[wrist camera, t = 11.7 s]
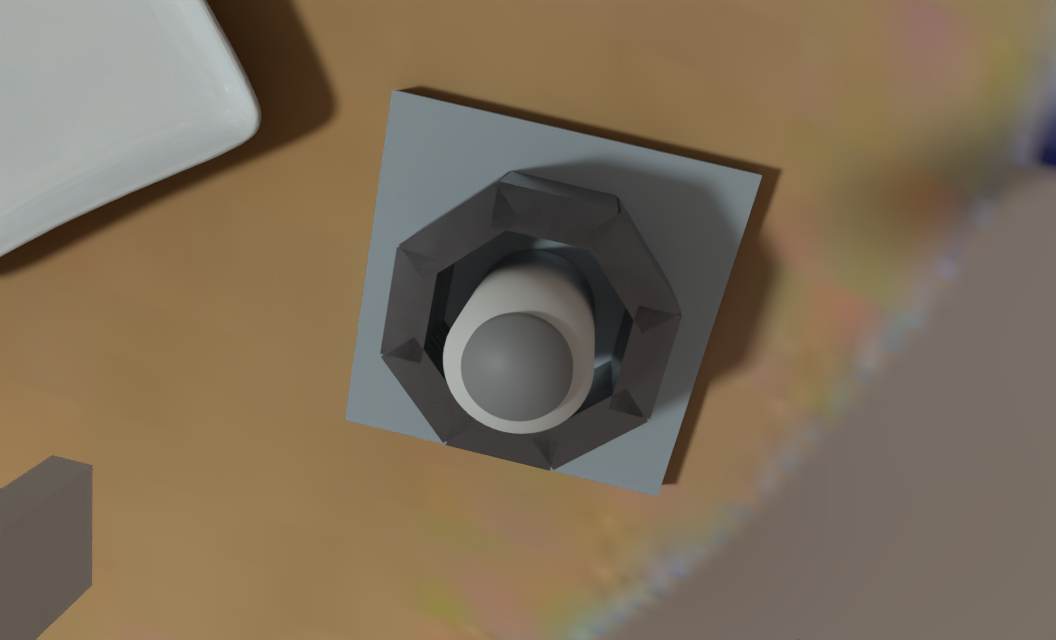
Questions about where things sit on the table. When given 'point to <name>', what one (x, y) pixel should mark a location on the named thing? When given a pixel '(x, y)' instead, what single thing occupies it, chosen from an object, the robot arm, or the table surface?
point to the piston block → (544, 278)
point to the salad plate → (109, 104)
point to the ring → (556, 216)
